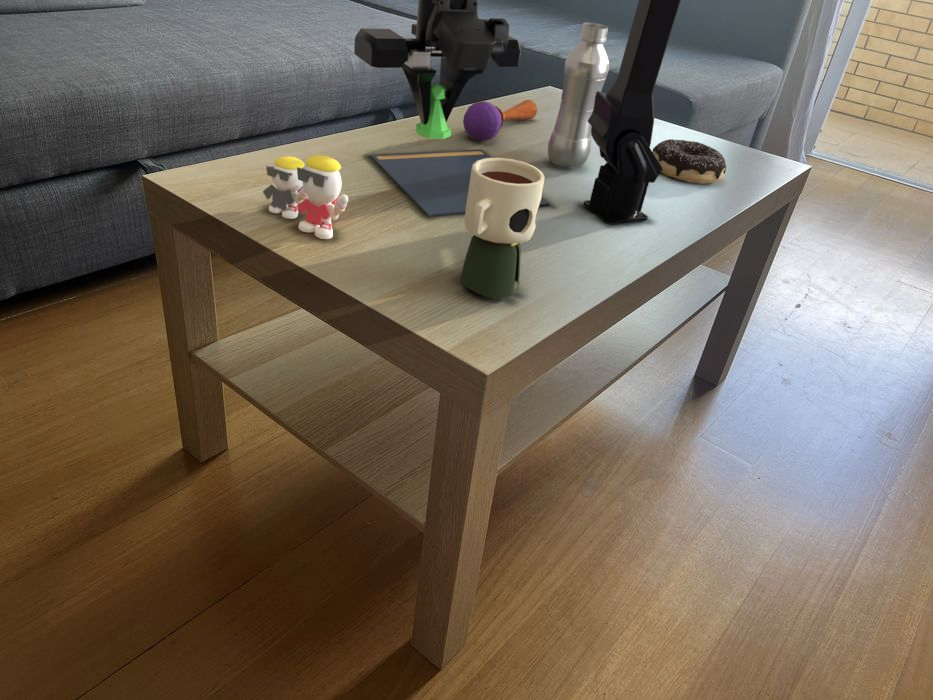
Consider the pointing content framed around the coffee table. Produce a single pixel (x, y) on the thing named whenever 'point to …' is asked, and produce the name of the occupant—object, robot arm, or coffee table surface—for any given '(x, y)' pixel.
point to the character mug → (499, 223)
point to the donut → (690, 161)
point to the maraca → (494, 118)
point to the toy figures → (307, 192)
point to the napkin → (434, 178)
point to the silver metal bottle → (579, 97)
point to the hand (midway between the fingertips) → (433, 123)
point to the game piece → (435, 116)
